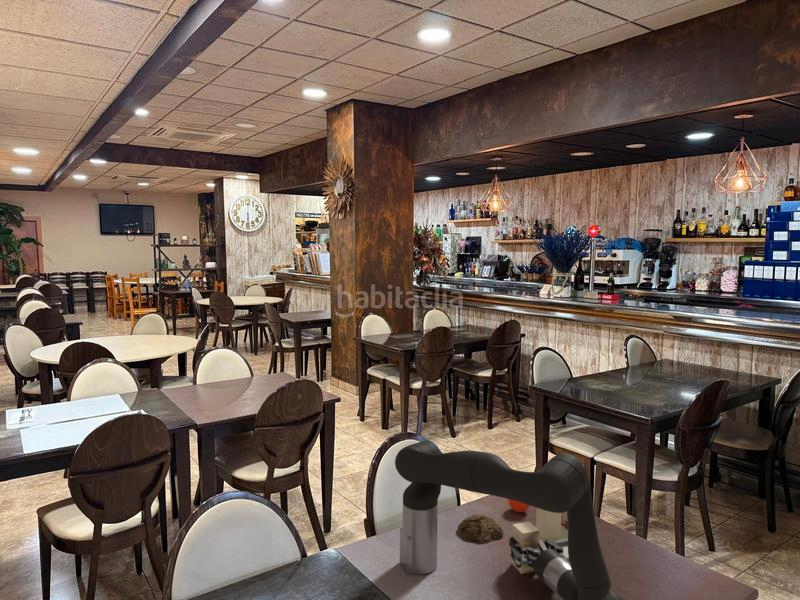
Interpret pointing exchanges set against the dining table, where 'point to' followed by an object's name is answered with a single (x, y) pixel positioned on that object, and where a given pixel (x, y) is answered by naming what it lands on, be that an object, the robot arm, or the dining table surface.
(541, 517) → the baseplate
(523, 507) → the clementine
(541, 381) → the dining table surface
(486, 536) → the bread roll
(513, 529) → the maple pillar
